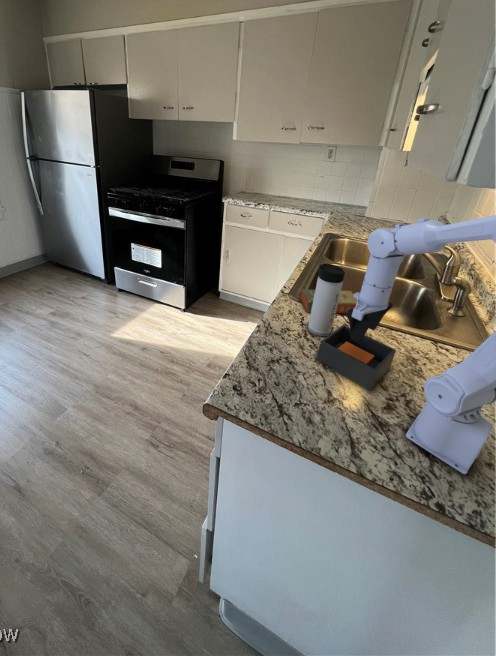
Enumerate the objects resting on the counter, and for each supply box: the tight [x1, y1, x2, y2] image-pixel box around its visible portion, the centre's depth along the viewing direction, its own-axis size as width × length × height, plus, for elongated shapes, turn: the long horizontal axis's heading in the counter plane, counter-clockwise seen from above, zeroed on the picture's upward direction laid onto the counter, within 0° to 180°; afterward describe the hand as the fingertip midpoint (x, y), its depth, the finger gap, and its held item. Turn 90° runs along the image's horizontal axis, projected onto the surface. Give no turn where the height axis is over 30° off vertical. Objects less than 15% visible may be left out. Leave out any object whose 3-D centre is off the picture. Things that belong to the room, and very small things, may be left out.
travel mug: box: [307, 262, 346, 337], centre depth 85 cm, size 6×7×20 cm
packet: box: [338, 341, 374, 366], centre depth 76 cm, size 7×4×3 cm, turn 41°
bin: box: [316, 324, 397, 392], centre depth 76 cm, size 13×11×6 cm
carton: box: [300, 288, 357, 314], centre depth 100 cm, size 8×16×4 cm, turn 89°
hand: (363, 334), depth 73 cm, fingers open, 7 cm apart
